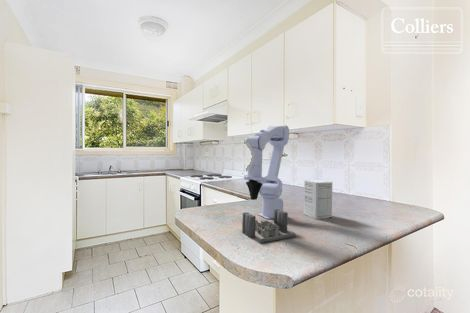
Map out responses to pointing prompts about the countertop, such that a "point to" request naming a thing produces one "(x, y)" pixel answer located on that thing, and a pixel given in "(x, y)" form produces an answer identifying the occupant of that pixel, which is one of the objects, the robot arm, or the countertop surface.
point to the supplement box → (318, 199)
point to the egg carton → (267, 228)
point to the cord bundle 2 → (281, 219)
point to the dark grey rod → (276, 238)
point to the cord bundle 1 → (248, 225)
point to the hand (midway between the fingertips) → (253, 199)
